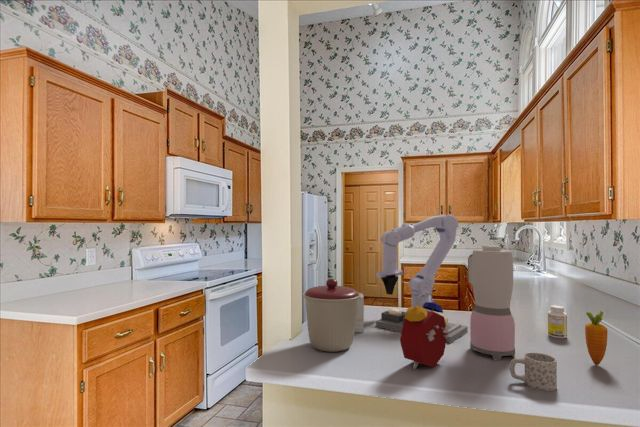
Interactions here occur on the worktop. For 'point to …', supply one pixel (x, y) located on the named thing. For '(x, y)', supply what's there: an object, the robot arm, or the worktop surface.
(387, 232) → the robot arm
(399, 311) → the cream button
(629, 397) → the worktop surface
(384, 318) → the control panel
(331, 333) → the canister
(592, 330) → the carrot
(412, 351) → the alarm clock
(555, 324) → the supplement bottle
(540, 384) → the mug
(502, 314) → the blender
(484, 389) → the worktop surface
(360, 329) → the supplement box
